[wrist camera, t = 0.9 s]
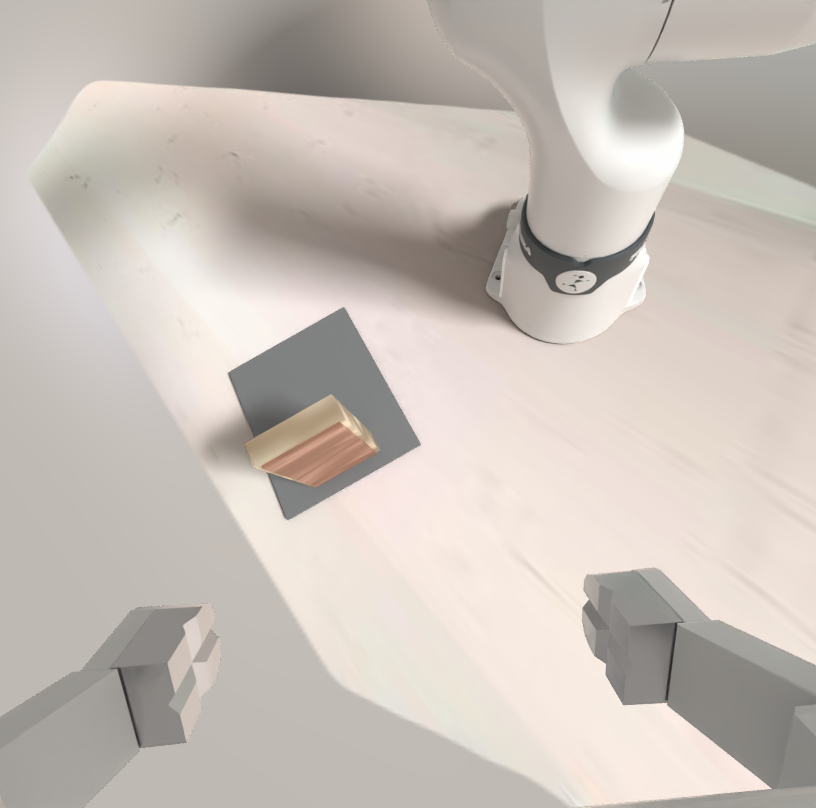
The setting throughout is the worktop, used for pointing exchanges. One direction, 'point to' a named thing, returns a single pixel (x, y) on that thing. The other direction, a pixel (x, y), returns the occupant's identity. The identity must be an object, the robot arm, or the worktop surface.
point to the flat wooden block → (313, 444)
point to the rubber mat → (313, 381)
